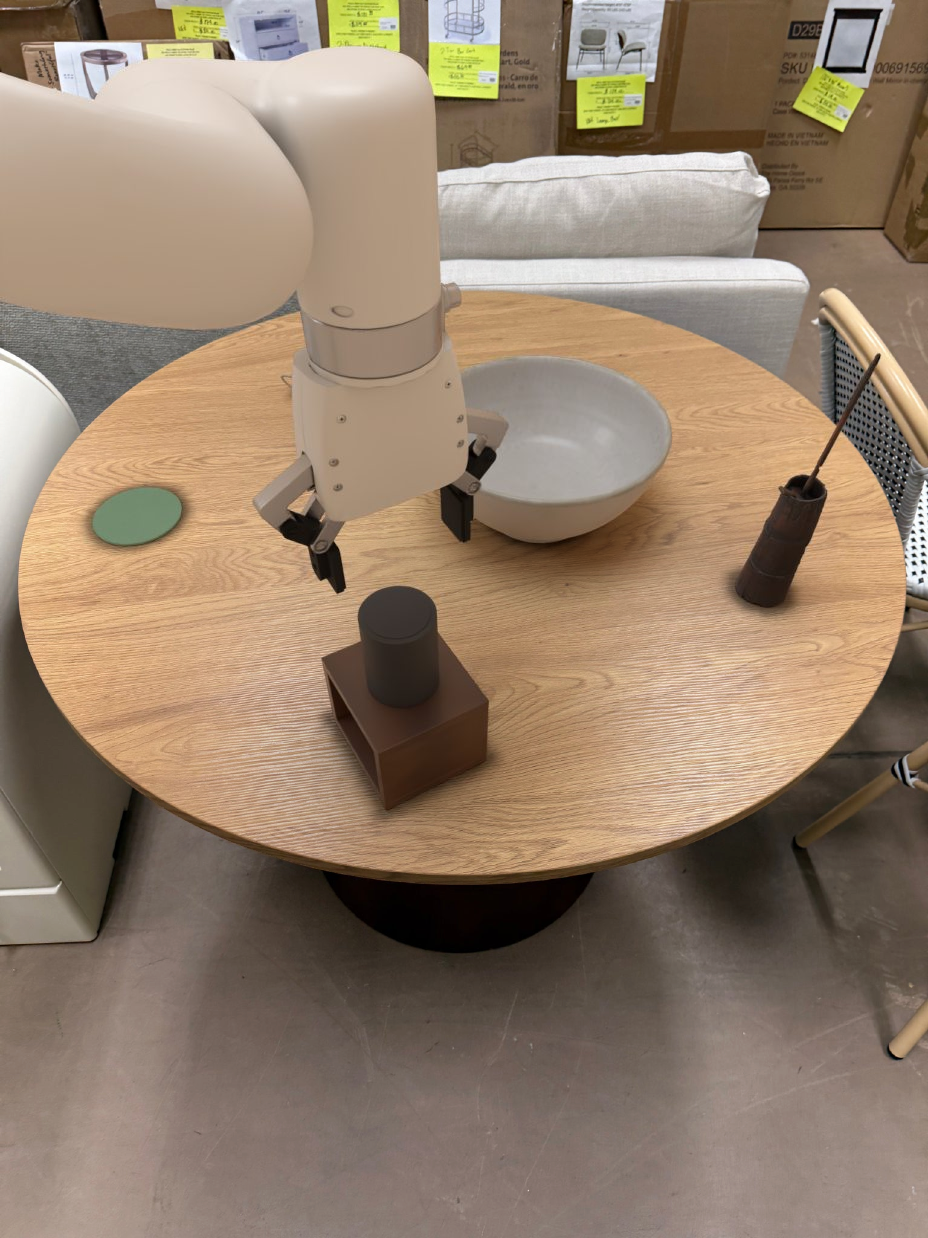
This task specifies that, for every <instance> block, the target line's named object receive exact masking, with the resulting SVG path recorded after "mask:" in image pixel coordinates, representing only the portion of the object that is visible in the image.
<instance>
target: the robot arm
mask: <svg viewBox="0 0 928 1238" xmlns="http://www.w3.org/2000/svg"><path fill="white" fill-rule="evenodd" d="M437 143H438V142H437V116H436V102H435V94H434V89H433V85H432V83H431V80H430V77H429V76H428V74H427V72H426V71H425V70H424V68H423V67H422V65H421V64H419V63H418V62H417V61H416V60H415V59H413V58H412V57H410V56H409V55H406V54H404V53H402V52H398V51H396V50H393V49H388V48H384V47H379V46H378V47H377V46H369V45H343V46H329V47H324V48H318V49H314V50H309V51H306V52H302V53H299V54H297V55H294V56H292V57H290V58H289V59H283V60H247V59H246V60H244V59H243V60H241V59H240V60H239V59H222V58H221V59H219V58H207V57H193V56H192V57H190V56H160V57H153V58H147V59H142V60H139V61H136V62H133V63H130V64H129V65H126V66H125V67H123V68H121V69H119V70H118V71H116V72H115V73H114V74H112V75H111V76H110V77H109V78H108V79H107V80H106V81H105V82H104V83H103V85H102V86H101V88H100V89H99V91H98V92H97V94H96V96H95V98H94V99H92V98H88V97H85V96H80V95H76V94H73V93H69V92H66V91H62V90H58V89H56V88H51V87H48V86H45V85H40V84H38V83H34V82H32V81H28V80H26V79H22V78H19V77H16V76H13V75H10V74H7V73H3V72H1V71H0V302H2V303H6V304H10V305H13V306H17V307H22V308H25V309H29V310H34V311H39V312H43V313H49V314H54V315H61V316H66V317H73V318H82V319H89V320H90V319H91V320H97V321H105V322H113V323H121V324H128V325H129V324H130V325H138V326H146V327H153V328H155V327H156V328H166V329H176V330H194V331H195V330H199V331H200V330H201V331H205V330H206V331H207V330H219V329H229V328H236V327H239V326H243V325H247V324H250V323H251V324H252V323H254V322H256V321H258V320H261V319H263V318H265V317H267V316H269V315H271V314H273V313H274V312H275V311H276V310H278V309H279V308H281V307H282V306H283V305H285V304H286V303H287V302H288V301H289V299H290V298H291V297H292V296H293V295H294V293H295V292H296V295H297V296H296V297H297V302H298V307H299V313H300V319H301V326H302V331H303V336H304V343H305V346H304V347H302V348H299V349H297V350H296V351H295V353H294V354H293V358H292V368H291V370H292V371H291V376H292V378H291V386H292V388H291V409H292V425H293V435H294V436H293V437H294V443H295V445H294V446H295V454H296V460H295V461H294V462H293V463H291V464H290V465H289V466H288V467H286V468H285V470H283V471H282V472H281V473H280V474H279V475H278V476H277V477H275V478H274V479H273V480H272V481H270V482H269V483H268V484H267V485H266V486H265V487H264V488H263V489H261V491H259V492H258V493H257V494H256V495H254V497H253V498H252V500H251V501H252V505H253V507H254V508H255V511H256V512H257V513H258V515H259V517H260V518H261V519H262V520H264V521H265V522H266V523H267V524H268V525H270V526H271V527H272V528H273V529H275V530H276V531H277V532H279V533H280V534H281V535H282V537H283V538H284V539H286V540H288V541H291V542H294V543H297V544H300V545H302V546H305V547H307V550H308V554H309V560H310V564H311V567H312V570H313V573H314V574H315V577H316V578H317V579H318V580H319V581H320V582H322V581H324V580H327V582H328V584H329V585H330V586H331V588H332V589H333V591H334V593H336V595H339V594H341V593H344V592H345V590H346V589H347V583H346V577H345V571H344V566H343V560H342V554H341V553H342V552H341V550H340V547H339V546H338V544H337V543H336V542H335V539H336V538H337V536H338V535H339V533H340V532H341V530H342V529H343V528H344V527H343V526H344V525H345V524H346V522H351V521H355V520H359V519H361V518H365V517H368V516H370V515H373V514H376V513H378V512H379V513H380V512H382V511H384V510H386V509H389V508H392V507H394V506H397V505H400V504H403V503H405V502H408V501H410V500H413V499H416V498H419V497H421V496H424V495H427V494H429V493H431V492H435V491H436V490H439V494H440V495H439V497H440V498H439V499H440V501H439V502H440V519H441V521H442V523H443V524H444V525H445V526H446V527H447V528H448V530H449V531H450V532H451V533H452V535H453V536H454V537H455V538H456V539H457V540H458V542H459V543H463V544H465V543H467V542H469V541H471V540H472V522H474V519H475V518H474V495H475V494H477V493H478V492H479V491H480V489H481V486H482V484H481V482H480V480H481V478H482V477H483V476H484V474H485V473H486V472H487V471H488V469H489V468H490V467H491V465H492V464H493V463H494V461H495V460H496V457H497V454H496V452H495V451H496V449H497V448H499V446H500V444H501V442H502V440H503V438H504V436H505V434H506V432H507V429H508V426H509V424H508V422H507V421H506V420H505V419H504V418H503V417H502V416H501V415H500V414H498V413H497V412H493V411H487V410H481V409H476V408H470V407H466V406H465V399H464V392H463V387H462V381H461V376H460V372H461V371H460V367H459V363H458V360H457V355H456V351H455V348H454V344H453V341H452V338H451V335H450V334H449V333H448V332H447V331H446V314H447V313H449V312H451V309H455V308H459V307H460V306H461V305H462V301H463V300H462V293H461V289H460V288H459V287H460V286H458V284H457V283H456V282H455V281H452V282H448V283H445V284H444V283H443V282H441V281H442V277H441V274H442V273H441V246H440V245H441V244H440V243H441V242H440V241H441V240H440V213H439V212H440V211H439V210H440V209H439V179H438V177H439V176H438V146H437V145H438V144H437ZM468 433H473V434H477V436H476V437H477V439H475V440H474V441H473V442H472V443H471V444H470V445H469V447H468ZM306 491H307V492H308V493H309V492H312V491H313V492H312V494H311V496H310V497H309V499H308V500H307V502H306V503H305V506H304V507H303V509H302V510H301V512H300V513H299V512H296V511H294V510H291V509H288V508H289V506H291V504H293V502H295V501H296V500H297V499H298V498H300V497H301V496H302V495H304V493H305V492H306ZM324 515H325V516H324ZM322 518H323V519H322ZM321 519H322V520H321Z"/></svg>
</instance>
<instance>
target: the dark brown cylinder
mask: <svg viewBox="0 0 928 1238" xmlns="http://www.w3.org/2000/svg"><path fill="white" fill-rule="evenodd" d="M357 611H358V612H357V624H358V630H359V631H358V632H359V638H360V641H361V645H362V652H363V659H364V666H365V673H366V680H367V686H368V689H369V691H370V693H371V694H372V696H373V697H374V698H375V699H376V700H378V701H379V702H381V703H382V704H384V705H387V706H390V707H395V708H408V707H413V706H416V705H419V704H421V703H423V702H425V701H426V700H427V699H429V698H430V697H431V696H432V695H433V694H434V692H435V691H436V689H437V687H438V684H439V654H438V633H439V630H438V629H439V627H438V610H437V606H436V604H435V602H434V600H433V599H432V598H431V597H430V595H428V594H427V593H426V592H424V591H423V590H421V589H418V588H417V587H412V586H409V585H408V586H407V585H391V586H386V587H383V588H380V589H377V590H375V591H374V592H372V593H370V594H369V595H368V596H367V597H366V598H364V600H363V601H362V602H361V604H360V606H359V608H358V610H357Z"/></svg>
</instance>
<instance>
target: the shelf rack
mask: <svg viewBox="0 0 928 1238" xmlns="http://www.w3.org/2000/svg"><path fill="white" fill-rule="evenodd" d="M438 654H439V684H438V687H437V689H436V691H435V692H434V694H433V695H432V696H431V697H430V698H429V699H427V700H426V701H425V702H423V703H421V704H419V705H416V706H413V707H408V708H395V707H390V706H387V705H384V704H382V703H381V702H379V701H378V700H376V699H375V698H374V697H373V696H372V694H371V693H370V691H369V689H368V686H367V680H366V673H365V666H364V659H363V652H362V645H361V640H360V641H357V642H355V643H353V644H350V645H348V646H346V647H343V648H341V649H339V650H336V651H334V652H331V653H329V654H327V655H325V656H322V657H321V658H320V660H321V664H322V669H323V674H324V680H325V684H326V689H327V695H328V699H329V703H330V709H331V713H332V719H333V721H334V722H335V724H336V726H337V727H338V729H339V731H340V733H341V734H342V736H343V738H344V739H345V741H346V743H347V745H348V747H349V748H350V750H351V752H352V754H353V755H354V757H355V759H356V761H357V762H358V764H359V765H360V768H361V769H362V771H363V774H364V775H365V776H366V778H367V780H368V781H369V783H370V785H371V787H372V788H373V790H374V792H375V794H376V795H377V797H378V799H379V801H380V803H381V804H382V806H383V807H384V809H385V811H389V810H391V809H394V808H395V807H397V806H399V805H401V804H403V803H405V802H406V801H409V800H410V799H412V798H415V797H417V796H418V795H420V794H423V793H424V792H427V791H429V790H431V789H432V788H435V787H436V786H438V785H440V784H443V783H444V782H446V781H448V780H450V779H452V778H454V777H456V776H458V775H460V774H462V773H464V772H466V771H468V770H470V769H472V768H474V767H476V766H478V765H480V764H482V763H484V762H486V761H487V758H488V757H487V756H488V755H487V754H488V738H489V737H488V734H489V709H490V708H489V707H490V706H489V705H490V700H489V699H488V697H487V696H486V695H485V694H484V692H483V690H482V689H481V688H480V687H479V685H478V684H477V683H476V681H475V679H474V678H473V677H472V676H471V674H470V673H469V671H467V668H465V666H464V665H463V664H462V663H461V661H460V660H459V658H458V657H457V656H456V654H455V652H454V651H453V650H452V649H451V648H450V646H449V645H448V643H447V642H446V641H445V640H444V638H443V636H442V635H441V634H440V632H438Z"/></svg>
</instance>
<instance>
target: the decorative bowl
mask: <svg viewBox="0 0 928 1238" xmlns="http://www.w3.org/2000/svg"><path fill="white" fill-rule="evenodd" d="M459 372H460V376H461V381H462V387H463V392H464V399H465V406H466V407H470V408H476V409H481V410H487V411H493V412H497V413H498V414H500V415H501V416H502V417H503V418H504V419H505V420H506V421H507V422H508V424H509V426H508V429H507V432H506V434H505V436H504V438H503V440H502V442H501V444H500V446H499V448H497V449H496V451H495V452H496V454H497V457H496V460H495V461H494V463H493V464H492V465H491V467H490V468H489V469H488V471H487V472H486V473H485V474H484V476H483V477H482V478H481V480H480V482H481V484H482V486H481V489H480V491H479V492H478V493H477V494H475V495H474V519H475V520H477V521H478V522H480V523H481V524H483V525H485V526H487V527H489V528H491V529H493V530H495V531H497V532H500V533H502V534H504V535H506V536H508V537H510V538H512V539H515V540H518V541H522V542H526V543H532V544H533V543H535V544H547V543H555V542H559V541H563V540H566V539H569V538H574V537H577V536H582V535H584V534H587V533H589V532H592V531H594V530H597V529H599V528H601V527H602V526H605V525H606V524H608V523H610V522H611V521H613V520H615V519H617V517H619V516H620V515H622V514H623V513H624V512H626V511H627V510H628V509H629V508H630V507H631V506H632V505H634V504H635V503H636V502H637V501H638V500H639V499H640V498H641V497H642V495H643V494H644V493H645V492H646V491H647V490H648V488H649V487H650V486H651V485H652V483H653V482H654V480H655V479H656V477H657V476H658V474H659V473H660V471H661V470H662V469H663V467H664V464H665V463H666V461H667V458H668V456H669V454H670V452H671V448H672V444H673V429H672V423H671V421H670V417H669V415H668V413H667V411H666V409H665V408H664V406H663V404H662V403H661V402H660V400H658V398H657V397H656V396H655V395H654V394H653V393H652V392H651V391H650V390H649V389H647V387H645V386H643V385H642V384H641V383H639V382H638V381H637V380H635V379H633V378H631V377H630V376H628V375H626V374H624V373H622V372H620V371H618V370H615V369H613V368H610V367H608V366H605V365H602V364H599V363H596V362H592V361H588V360H584V359H579V358H574V357H569V356H562V355H561V356H559V355H544V354H531V355H527V354H526V355H515V356H507V357H501V358H495V359H492V360H488V361H484V362H481V363H478V364H474V365H472V366H470V367H467V368H465V369H463V370H460V371H459ZM476 436H477V434H473V433H468V447H469V445H470V444H471V443H472V442H473V441H474V440H475V439H477V437H476Z"/></svg>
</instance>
